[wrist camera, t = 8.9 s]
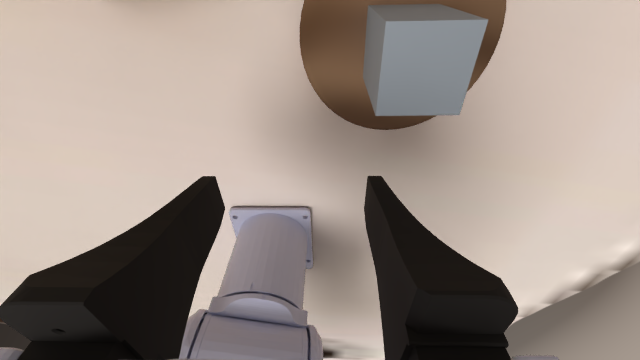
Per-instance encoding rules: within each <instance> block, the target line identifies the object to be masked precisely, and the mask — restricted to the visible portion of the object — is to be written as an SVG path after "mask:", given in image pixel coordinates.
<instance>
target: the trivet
mask: <svg viewBox="0 0 640 360" xmlns="http://www.w3.org/2000/svg"><path fill="white" fill-rule="evenodd" d="M407 4H441V5H444V6H448V7H451V8H454V9H457V10H460V11H463V12H466V13H470V14H473V15H476V16H479V17H482V18H485V19H488V23H487V26H486V30H485V33H484V36H483V40H482V43H481V46H480V49H479V53H478V56H477V59H476V62H475V66H474V69H473V72H472V76H471V79H470V82H469V85H468V89H467V91H468V90H469V89H470V88H471V87H472V86H473V84H474V83H475V82H476V81H477V79H478V78H479V77H480V75H481V74H482V72H483V71H484V69H485V68H486V66H487V64H488V63H489V61H490V59H491V57H492V55H493V53H494V51H495V48H496V46H497V43H498V41H499V38H500V34H501V31H502V27H503V24H504V17H505V11H506V0H304V4H303V9H302V13H301V22H300V48H301V56H302V60H303V64H304V68H305V71H306V73H307V76H308V79H309V81H310V83H311V85H312V87H313V88H314V90H315V92H316V93H317V94H318V96H319V97H320V99H321V100H322V101H323V102H324V103H325V104H326V105H327V106H328V108H330V109H331V110H332V111H333V112H335V113H336V114H337V115H339V116H340V117H342V118H343V119H345V120H347V121H349V122H351V123H353V124H356V125H359V126H362V127H366V128H372V129H382V130H389V129H400V128H405V127H410V126H413V125H416V124H419V123H422V122H424V121H427V120H429V119H431V118H433V117H435V116H437V115H419V116H375V113H374V110H373V107H372V103H371V100H370V97H369V94H368V91H367V88H366V85H365V82H364V79H363V67H364V54H365V40H366V26H367V13H368V5H407Z"/></svg>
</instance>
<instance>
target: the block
mask: <svg viewBox="0 0 640 360" xmlns="http://www.w3.org/2000/svg"><path fill="white" fill-rule="evenodd" d="M487 23H488V19H485V18H482V17H479V16H476V15H473V14H470V13H466V12H463V11H460V10H457V9H454V8H451V7H448V6H444V5H441V4H407V5H368V13H367V26H366V40H365V54H364V67H363V79H364V82H365V85H366V88H367V91H368V94H369V97H370V100H371V103H372V107H373V110H374V113H375V116H419V115H460V112H461V108H462V105H463V102H464V98H465V95H466V92H467V89H468V85H469V82H470V79H471V76H472V72H473V69H474V66H475V62H476V59H477V56H478V53H479V49H480V46H481V43H482V40H483V36H484V33H485V30H486V26H487Z"/></svg>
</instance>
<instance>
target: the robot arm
mask: <svg viewBox="0 0 640 360" xmlns="http://www.w3.org/2000/svg"><path fill="white" fill-rule="evenodd" d="M224 210H225V206H224V203H223V200H222V196H221V193H220V190H219V187H218V183H217V180H216V177H215V176H203V177H201V178H200V179H198V180H197V181H196V182H194V183H193V184H192V185H191V186H189V187H188V188H187V189H186V190H184V191H183V192H182V193H181V194H179V195H178V196H177V197H176V198H174V199H173V200H172V201H170V202H169V203H168V204H166V205H165V206H164V207H162V208H161V209H160V210H158V211H157V212H155V213H154V214H153V215H151V216H150V217H148V218H147V219H145V220H144V221H142V222H141V223H139V224H138V225H136V226H134V227H133V228H131V229H129V230H128V231H126V232H124V233H123V234H121V235H119V236H117V237H115V238H113V239H111V240H109V241H108V242H106V243H104V244H102V245H100V246H98V247H96V248H94V249H92V250H90V251H87V252H85V253H83V254H81V255H79V256H76V257H74V258H72V259H70V260H67V261H65V262H62V263H60V264H57V265H55V266H52V267H50V268H47V269H44V270H42V271H39V272H37V273H34V274H31V275H29V276H28V277H27V278H26V279H25V281H24V282H23V283H22V284H21V285H20V286H19V287H18V288H17V289H16V290H15V291H14V292H13V293H12V294H11V295H10V296H9V297H8V298H7V299H6V300H5V301H4V303H3V304H2V305H1V306H0V318H1V320H2V321H4V322H5V323H6V324H7V325H9V326H10V327H12V328H13V329H15V330H16V331H18V332H19V333H20V334H22V335H23V336H25V337H26V338H28V339H29V340H31V341H32V342H31V343H30V344H29V345H28V347H27V348H26V349H25V350H21V349H18V348H0V360H323V347H322V341H321V337H320V335H319V334H318V332H317V330H316V328H315V327H314V326H313V325H307V314H308V312H307V311H305V310H303V297H304V283H305V269H311V268H312V267H313V253H312V234H311V214H310V210H309V209H308V208H238V207H234V208H231V209H230V211H229V215H230V218H231V221H232V225H233V228H234V231H235V235H236V238H237V239H236V242H235V245H234V248H233V251H232V254H231V257H230V260H229V263H228V266H227V269H226V272H225V275H224V278H223V281H222V284H221V287H220V290H219V293H218V296H217V297H213V298H212V301H211V303H210V306H209V309H208V310H204V309H199V310H198V311H197V312H196V313H195V314H193V315H192V316H190V317H189V318H188V316H189V312H190V309H191V305H192V301H193V298H194V294H195V291H196V287H197V284H198V281H199V277H200V274H201V272H202V269H203V266H204V264H205V262H206V259H207V257H208V255H209V252H210V250H211V248H212V245H213V243H214V241H215V238H216V236H217V233H218V231H219V229H220V226H221V222H222V219H223V215H224ZM364 211H365V221H366V229H367V234H368V238H369V243H370V247H371V252H372V256H373V260H374V265H375V270H376V275H377V283H378V291H379V300H380V309H381V319H382V329H383V340H384V352H385V360H559V359H558V358H557V357H555V356H551V355H548V356H547V355H519V356H515V357H512V358H510V356H509V354H508V352H507V350H506V348H507V347H508V341H507V339H506V337H505V335H504V332H505V330H506V329H507V328H508V327H509V326H510V324H511V323H512V322H513V321H514V319H515V317H516V316H517V314H518V307H517V305H516V303H515V301H514V299H513V298H512V296H511V294H510V292H509V290H508V289H507V287H506V286H505V284H504V283H503V281H502V280H501V278H499V277H497V276H495V275H494V274H492V273H490V272H488V271H487V270H485V269H483V268H481V267H479V266H478V265H476V264H474V263H473V262H471V261H469V260H468V259H466V258H465V257H463V256H462V255H460V254H459V253H457V252H456V251H454V250H453V249H451V248H450V247H449V246H447V245H446V244H445V243H443V242H442V241H441V240H439V239H438V238H437V237H436V236H434V235H433V234H432V233H431V232H430V231H429V230H427V229H426V228H425V227H424V226H423V225H422V224H421V223H420V222H419V221H418V220H417V219H416V218H415V217H414V216H413V215H412V214H411V213H410V212H409V211H408V210H407V208H406V207H405V206H404V205H403V204H402V203H401V201H400V200H399V199H398V198H397V197H396V195H395V194H394V193H393V191H392V190H391V189H390V187H389V186H388V185H387V183H386V182H385V180H384V179H383V178H382V177H381V176H368V179H367V188H366V197H365V206H364ZM234 215H235V216H234Z"/></svg>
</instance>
